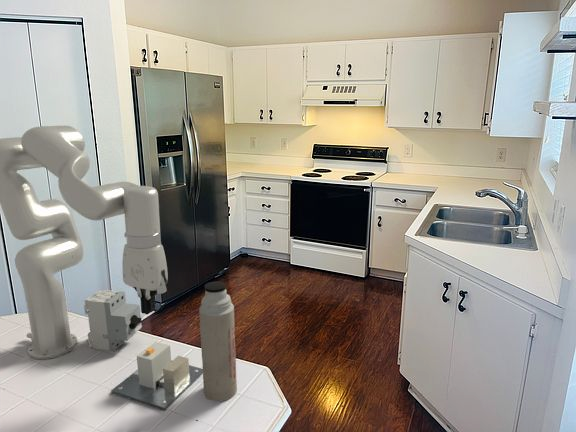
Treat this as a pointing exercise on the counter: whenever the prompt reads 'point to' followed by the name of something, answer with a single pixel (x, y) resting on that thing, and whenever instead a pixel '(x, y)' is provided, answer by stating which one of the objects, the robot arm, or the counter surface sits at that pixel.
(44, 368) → the counter surface
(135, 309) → the circuit breaker
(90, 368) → the counter surface
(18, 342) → the counter surface
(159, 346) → the block
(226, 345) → the thermos bottle
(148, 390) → the mounting plate
